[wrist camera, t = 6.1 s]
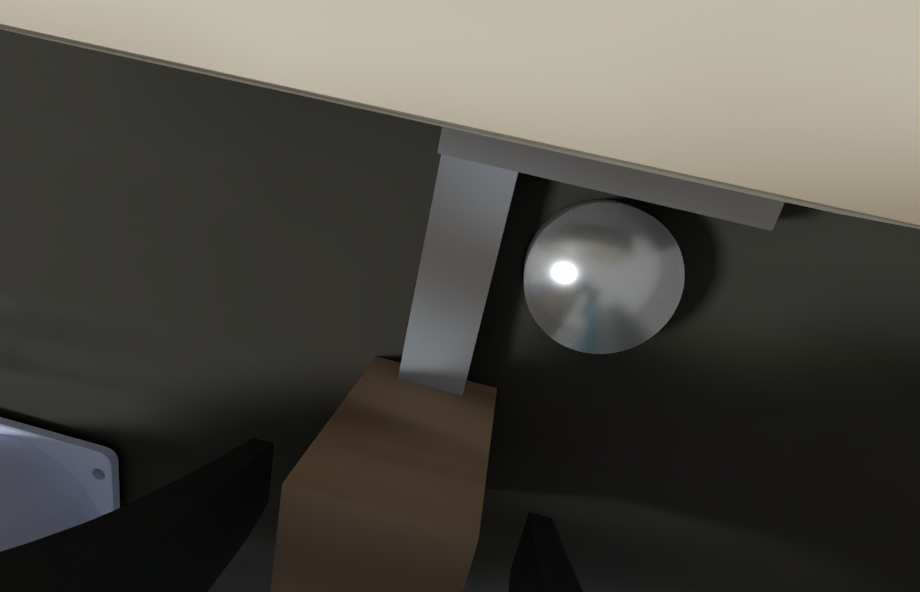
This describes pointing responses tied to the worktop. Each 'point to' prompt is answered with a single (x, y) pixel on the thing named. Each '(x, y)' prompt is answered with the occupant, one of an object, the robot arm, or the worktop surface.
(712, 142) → the cabinet
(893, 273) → the worktop surface
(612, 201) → the steel ball
